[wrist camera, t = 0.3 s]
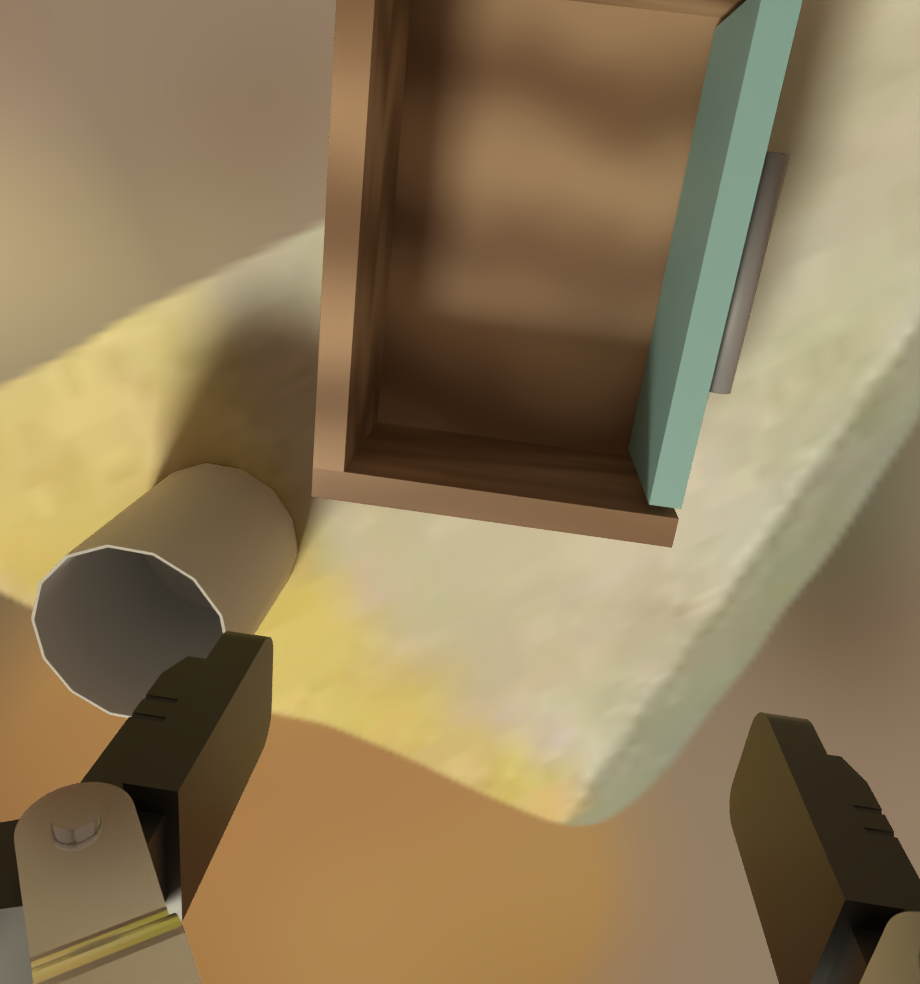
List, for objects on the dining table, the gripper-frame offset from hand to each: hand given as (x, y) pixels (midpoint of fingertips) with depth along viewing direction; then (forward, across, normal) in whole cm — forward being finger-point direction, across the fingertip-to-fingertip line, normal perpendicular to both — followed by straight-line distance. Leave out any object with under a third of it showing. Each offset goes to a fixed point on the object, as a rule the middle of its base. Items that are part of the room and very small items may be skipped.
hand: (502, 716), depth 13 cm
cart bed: (+26, +1, -6) cm, 27 cm away
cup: (+26, +14, +11) cm, 32 cm away
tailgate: (+24, -6, -6) cm, 25 cm away
